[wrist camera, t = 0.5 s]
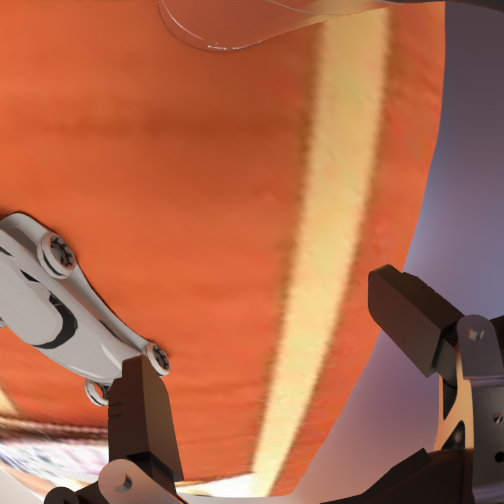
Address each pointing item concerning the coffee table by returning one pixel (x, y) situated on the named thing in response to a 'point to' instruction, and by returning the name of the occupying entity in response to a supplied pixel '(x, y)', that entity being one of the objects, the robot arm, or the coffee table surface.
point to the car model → (63, 308)
